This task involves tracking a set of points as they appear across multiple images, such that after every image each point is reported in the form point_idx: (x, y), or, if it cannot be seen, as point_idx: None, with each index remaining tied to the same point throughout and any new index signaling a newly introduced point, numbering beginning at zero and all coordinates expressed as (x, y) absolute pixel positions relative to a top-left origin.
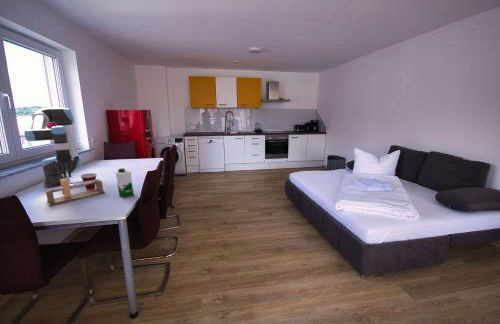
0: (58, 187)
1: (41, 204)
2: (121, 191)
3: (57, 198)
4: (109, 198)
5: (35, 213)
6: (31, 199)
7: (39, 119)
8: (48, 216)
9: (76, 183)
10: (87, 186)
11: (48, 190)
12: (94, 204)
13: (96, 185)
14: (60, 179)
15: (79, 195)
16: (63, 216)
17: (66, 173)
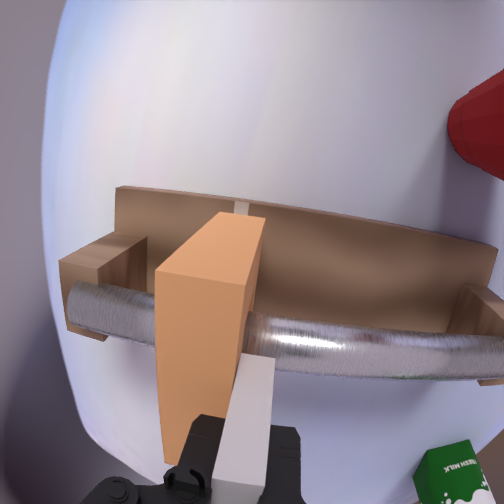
0: (145, 344)
1: (90, 216)
2: (418, 497)
3: (176, 226)
4: (388, 449)
5: (70, 354)
6: (84, 25)
7: None
8: (117, 432)
9: (337, 369)
10: (468, 150)
11: (76, 281)
12: None
13: (480, 319)
14: (158, 312)
15: (322, 310)
16: (163, 471)
17: (224, 500)
